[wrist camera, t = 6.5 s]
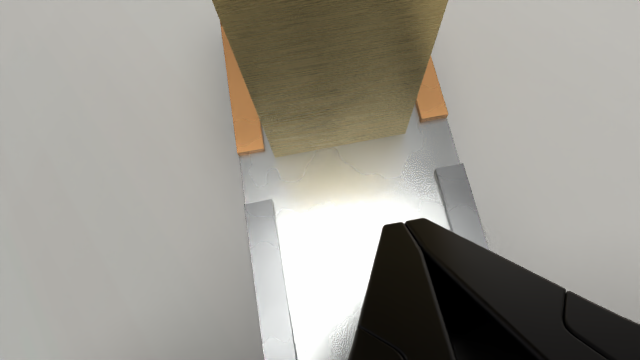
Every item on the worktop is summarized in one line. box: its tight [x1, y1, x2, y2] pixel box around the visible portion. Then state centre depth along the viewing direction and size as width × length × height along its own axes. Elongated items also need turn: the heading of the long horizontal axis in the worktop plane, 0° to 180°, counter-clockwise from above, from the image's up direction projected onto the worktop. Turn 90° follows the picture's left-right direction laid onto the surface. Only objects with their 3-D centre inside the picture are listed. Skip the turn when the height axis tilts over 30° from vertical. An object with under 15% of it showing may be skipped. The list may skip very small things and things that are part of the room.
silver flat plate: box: [220, 21, 489, 360], centre depth 17 cm, size 15×8×1 cm, turn 10°
